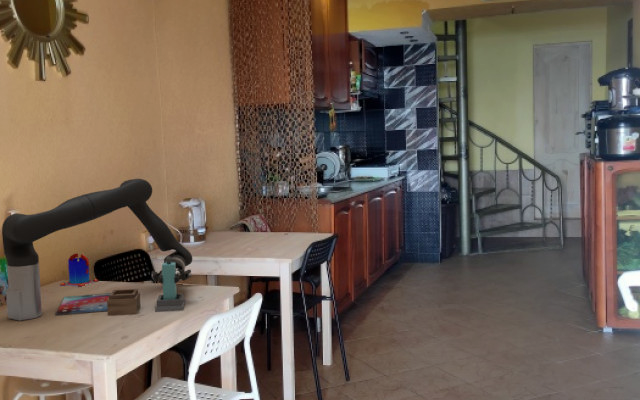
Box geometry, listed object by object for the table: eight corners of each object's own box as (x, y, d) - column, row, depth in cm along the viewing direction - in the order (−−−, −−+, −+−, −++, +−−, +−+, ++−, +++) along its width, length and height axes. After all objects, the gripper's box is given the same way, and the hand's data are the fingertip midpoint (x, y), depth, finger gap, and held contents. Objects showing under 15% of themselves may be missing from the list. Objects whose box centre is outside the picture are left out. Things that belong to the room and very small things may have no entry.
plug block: (175, 300, 213) (174, 257, 211) (163, 300, 212) (161, 258, 211) (176, 297, 217) (175, 255, 215) (164, 297, 216) (163, 255, 215)
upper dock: (136, 313, 207) (135, 295, 207) (107, 315, 206) (106, 296, 206) (140, 306, 216) (139, 288, 216) (113, 307, 215) (112, 289, 214)
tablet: (119, 294, 235) (119, 292, 235) (116, 312, 211) (116, 309, 211) (63, 298, 230) (63, 296, 230) (54, 317, 206) (54, 314, 206)
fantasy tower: (101, 280, 256) (100, 251, 254) (82, 287, 244) (81, 256, 243) (76, 279, 259) (74, 250, 258) (56, 285, 248) (55, 255, 246)
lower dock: (183, 310, 211) (182, 300, 210) (155, 311, 210) (154, 301, 209) (185, 303, 220) (184, 293, 219) (158, 304, 219) (158, 294, 218)
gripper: (152, 259, 226) (146, 270, 210) (193, 258, 228) (190, 268, 211) (153, 280, 227) (146, 292, 210) (194, 278, 229) (190, 290, 212)
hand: (168, 280), depth 211 cm, fingers closed on plug block, 4 cm apart
